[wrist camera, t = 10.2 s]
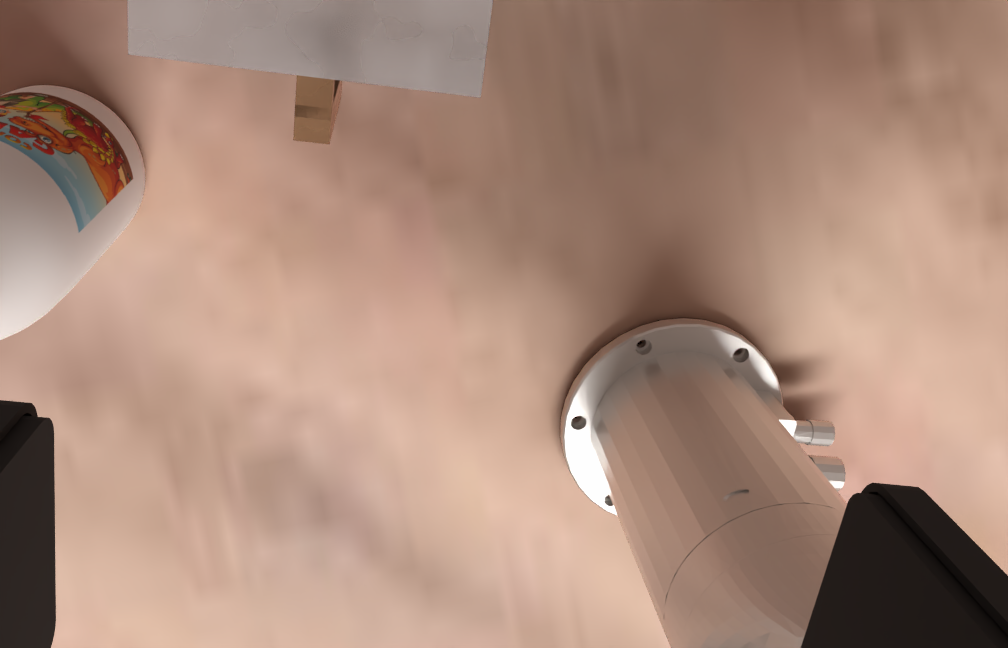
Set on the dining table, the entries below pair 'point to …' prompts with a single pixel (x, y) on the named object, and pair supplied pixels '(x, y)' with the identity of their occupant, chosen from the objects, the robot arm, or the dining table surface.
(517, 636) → the dining table surface
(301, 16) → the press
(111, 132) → the milk bottle
